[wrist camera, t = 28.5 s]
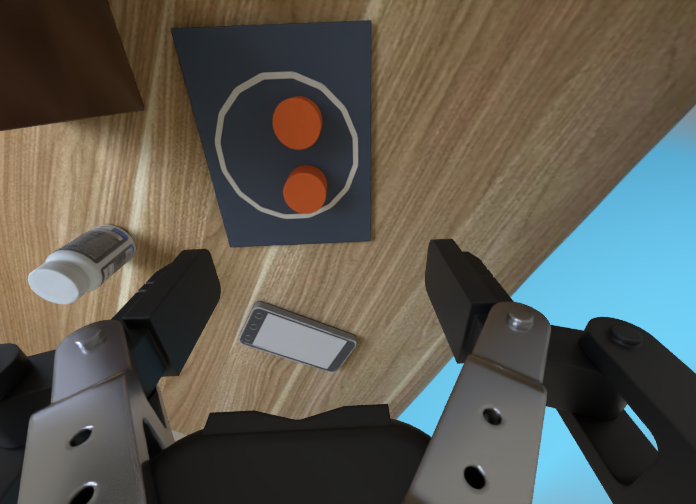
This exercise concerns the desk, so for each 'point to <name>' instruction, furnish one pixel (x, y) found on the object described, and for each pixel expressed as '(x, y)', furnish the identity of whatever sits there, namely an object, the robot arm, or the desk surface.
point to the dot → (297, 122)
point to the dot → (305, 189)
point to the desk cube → (61, 63)
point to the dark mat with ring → (258, 134)
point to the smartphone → (296, 338)
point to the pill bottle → (82, 264)
